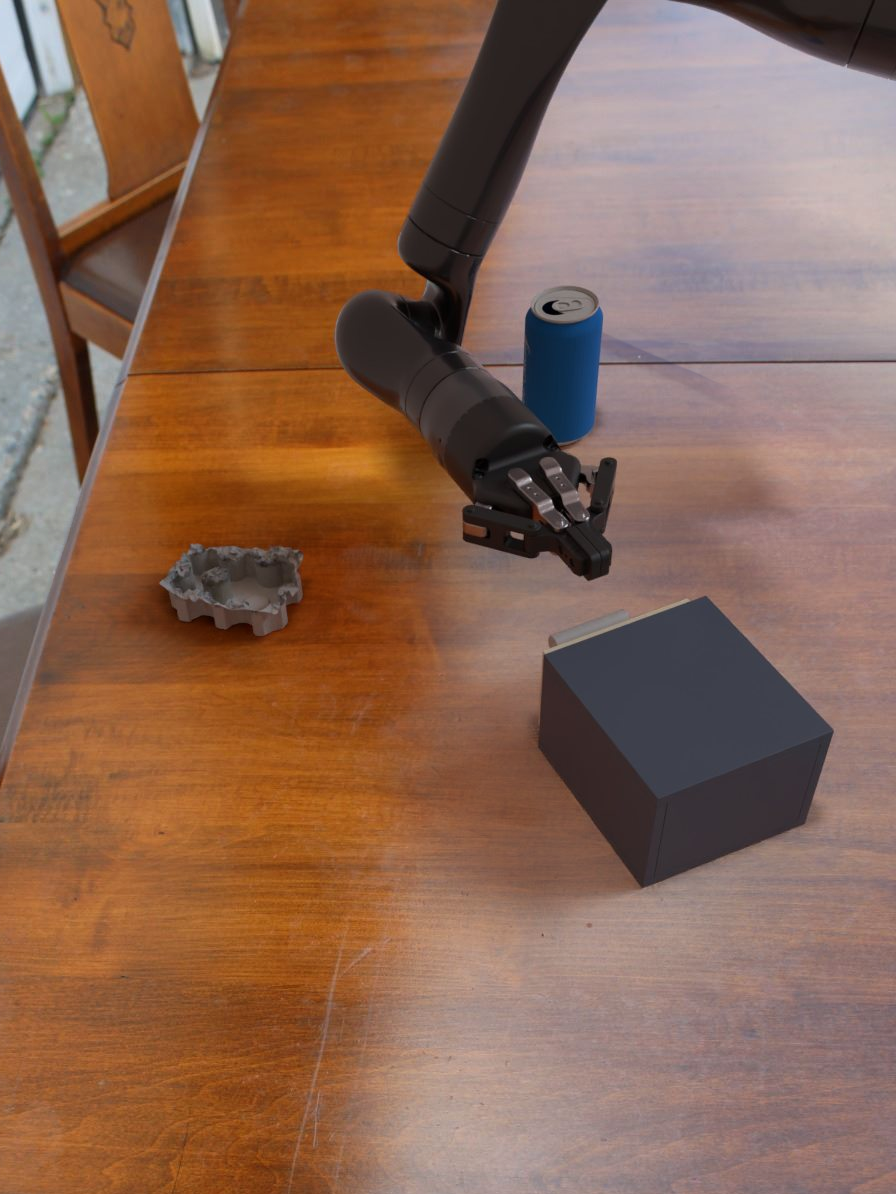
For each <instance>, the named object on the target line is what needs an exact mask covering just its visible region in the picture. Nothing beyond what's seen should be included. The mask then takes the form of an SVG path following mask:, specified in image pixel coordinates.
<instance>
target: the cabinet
mask: <svg viewBox="0 0 896 1194" xmlns="http://www.w3.org/2000/svg"><path fill="white" fill-rule="evenodd" d="M543 663H544V664H543V676H542V692H541V708H540V724H539V726H538V727H539V728H538V740H537V748H538V749H539V750H540V752H541V754H543V756H544V757H545V759H546V760H547V762H548V763H549V764H550V766H551V767H552V768H553V770H554V771H555V772H556V774H557V775H558V777H560V780H561V781H562V782H563V783H564V784H565V786H566V787H567V789H568V790H569V791H570V793H571V794H572V795H573V797H574V798H575V799H576V800H577V802H578V803H579V805H580V806H581V808H582V809H583V810H584V812H585V813H586V814H587V816H588V817H589V819H590V820H591V821H592V823H593V824H594V825H595V826H596V829H598V831H599V832H600V833H601V835H602V836H603V837H604V839H605V840H606V841H607V843H608V844H609V846H610V847H611V848H612V850H613V851H614V852H615V854H616V855H617V857H618V858H619V859H620V861H621V862H622V863H623V864H624V866H625V867H626V869H627V870H628V871H629V873H630V874H631V876H632V877H633V878H634V879H635V881H636V882H637V884H638V885H639V886H640V888H641V889H645V888H648V887H649V886H650V887H651V886H652V885H655V884H657V883H660V882H663V881H664V880H667V879H670V878H673V877H675V876H677V875H680V874H682V873H685V872H687V871H690V870H692V869H695V868H697V867H701V866H702V865H704V864H707V863H710V862H712V861H715V860H717V859H720V858H722V857H725V856H728V855H730V854H733V853H735V852H737V851H740V850H742V849H745V848H747V847H751V846H752V845H755V844H757V843H760V842H763V841H764V840H768V839H771V838H773V837H775V836H777V835H780V834H782V833H784V832H788V831H790V830H793V829H795V828H798V827H800V826H802V825H805V824H806V822H807V818H808V815H809V812H810V809H811V805H812V803H813V800H814V796H815V793H816V790H817V788H818V783H819V780H820V778H821V775H822V771H823V768H824V764H825V761H826V759H827V756H828V752H829V750H830V749H829V748H830V746H831V742H832V739H833V736H834V732H835V729H834V728H833V727H832V726H831V725H830V724H829V723H828V722H827V721H826V720H825V719H824V718H823V717H822V715H820V713H818V711H817V710H816V709H815V708H814V707H813V706H812V705H811V704H810V703H809V702H808V701H807V700H806V699H805V698H804V696H802V695H801V693H799V692H798V690H797V689H796V688H795V687H794V686H793V685H792V684H791V683H790V682H789V681H788V680H787V679H786V678H785V677H784V676H783V674H782V673H780V672H779V670H778V669H777V668H776V667H775V666H774V665H773V664H772V662H770V661H769V660H768V659H767V658H766V656H765V655H764V654H763V653H762V652H760V651H759V649H758V648H756V646H755V645H754V644H753V643H752V642H751V640H749V639H748V638H747V637H746V636H745V634H743V632H742V631H741V630H739V628H737V626H736V625H735V624H734V623H733V622H732V621H731V620H730V619H729V618H728V617H727V616H726V615H725V613H723V612H722V610H721V609H720V608H719V607H718V606H717V605H716V604H715V603H714V602H713V601H712V600H711V599H710V598H709V597H708V596H707V595H703V596H701V597H698V598H695V599H693V600H689V602H687V603H684V604H681V605H678V606H676V607H673V608H670V609H668V610H665V611H662V612H659V613H657V614H654V615H651V616H648V617H646V618H643V619H640V620H637V621H635V622H632V623H629V624H626V625H624V626H621V627H618V628H615V629H613V630H610V631H607V632H604V633H602V634H599V635H596V636H593V637H591V638H588V639H585V640H583V641H580V642H577V643H574V644H572V645H569V646H566V647H563V648H561V649H558V650H555V651H552V652H550V653H547V654H544V659H543Z"/></svg>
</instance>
